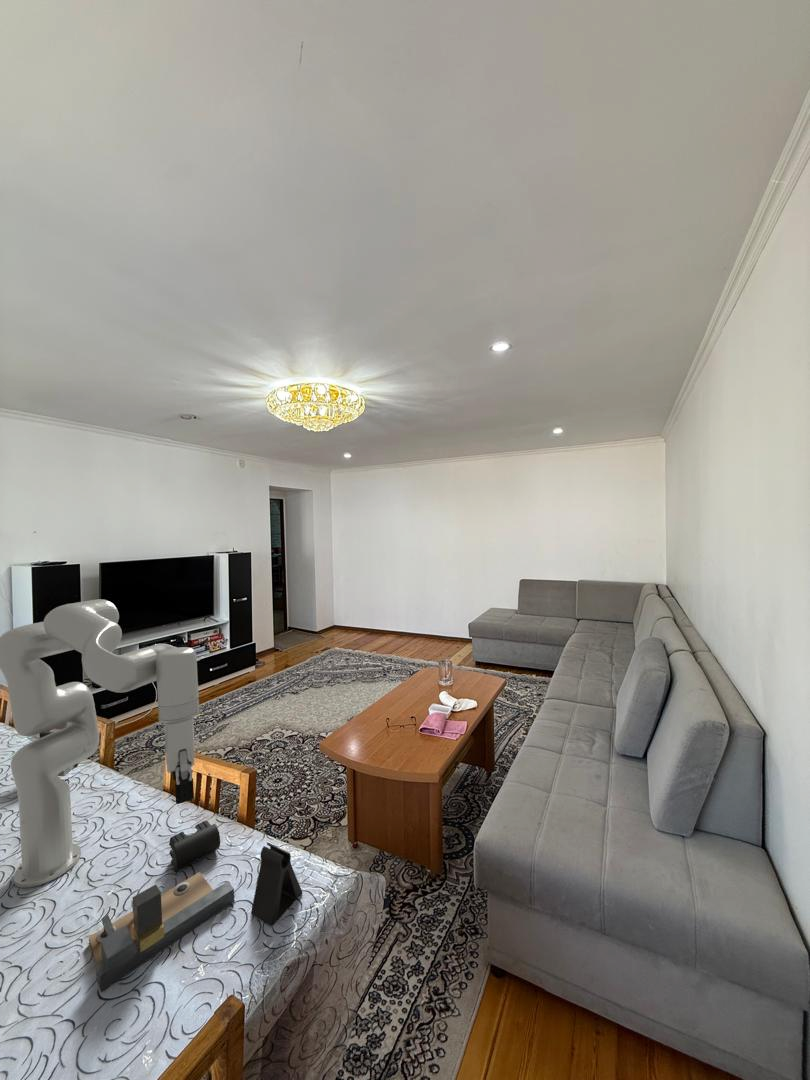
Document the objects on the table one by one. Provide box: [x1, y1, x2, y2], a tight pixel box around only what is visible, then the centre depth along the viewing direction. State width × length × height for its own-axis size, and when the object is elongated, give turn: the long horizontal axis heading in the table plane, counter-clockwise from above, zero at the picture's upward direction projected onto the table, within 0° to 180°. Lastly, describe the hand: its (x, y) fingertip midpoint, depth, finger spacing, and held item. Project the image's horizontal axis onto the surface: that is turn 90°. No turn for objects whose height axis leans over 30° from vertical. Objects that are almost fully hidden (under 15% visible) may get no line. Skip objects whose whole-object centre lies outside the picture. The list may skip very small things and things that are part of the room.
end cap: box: [168, 819, 221, 873], centre depth 104 cm, size 10×7×7 cm
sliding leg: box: [131, 884, 164, 952], centre depth 83 cm, size 12×4×9 cm, turn 47°
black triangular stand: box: [250, 842, 303, 928], centre depth 91 cm, size 9×6×12 cm, turn 149°
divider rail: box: [95, 881, 235, 993], centre depth 86 cm, size 12×24×6 cm, turn 137°
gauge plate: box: [88, 871, 214, 965], centre depth 88 cm, size 8×21×2 cm, turn 137°
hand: (183, 789), depth 89 cm, fingers open, 9 cm apart
